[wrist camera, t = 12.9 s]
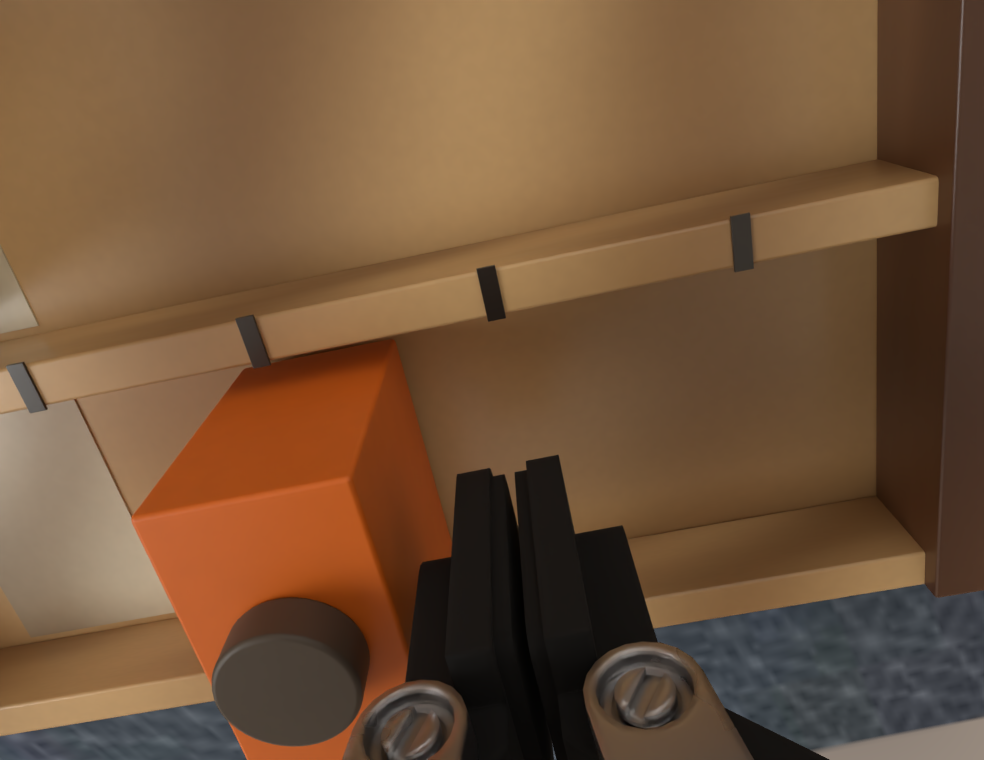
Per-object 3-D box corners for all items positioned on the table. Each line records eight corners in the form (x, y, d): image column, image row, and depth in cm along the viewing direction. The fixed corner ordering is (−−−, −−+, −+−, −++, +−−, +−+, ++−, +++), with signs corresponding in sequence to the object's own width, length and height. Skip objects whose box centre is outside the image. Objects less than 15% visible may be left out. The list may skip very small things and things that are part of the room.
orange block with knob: (394, 336, 14) (339, 513, 9) (456, 558, 16) (442, 810, 11) (242, 367, 14) (97, 557, 9) (323, 581, 16) (244, 838, 11)
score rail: (912, -348, 11) (1079, -503, 8) (898, 491, 17) (990, 590, 14) (-500, 18, 13) (-812, 8, 10) (-65, 660, 19) (-174, 780, 16)
